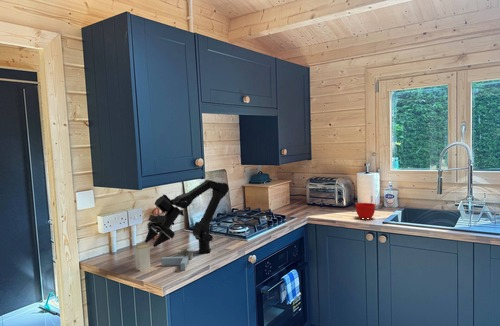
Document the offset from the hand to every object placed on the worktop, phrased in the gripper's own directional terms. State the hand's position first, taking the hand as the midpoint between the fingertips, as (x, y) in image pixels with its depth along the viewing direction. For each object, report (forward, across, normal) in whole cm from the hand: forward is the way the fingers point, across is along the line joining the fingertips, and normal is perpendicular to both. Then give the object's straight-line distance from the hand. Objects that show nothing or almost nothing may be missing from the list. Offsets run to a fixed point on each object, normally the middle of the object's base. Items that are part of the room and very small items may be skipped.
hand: (149, 244), depth 169 cm
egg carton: (-3, +3, +18) cm, 19 cm away
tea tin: (+10, 0, +5) cm, 11 cm away
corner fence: (+2, +9, +13) cm, 16 cm away
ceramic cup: (-101, +19, +115) cm, 154 cm away
